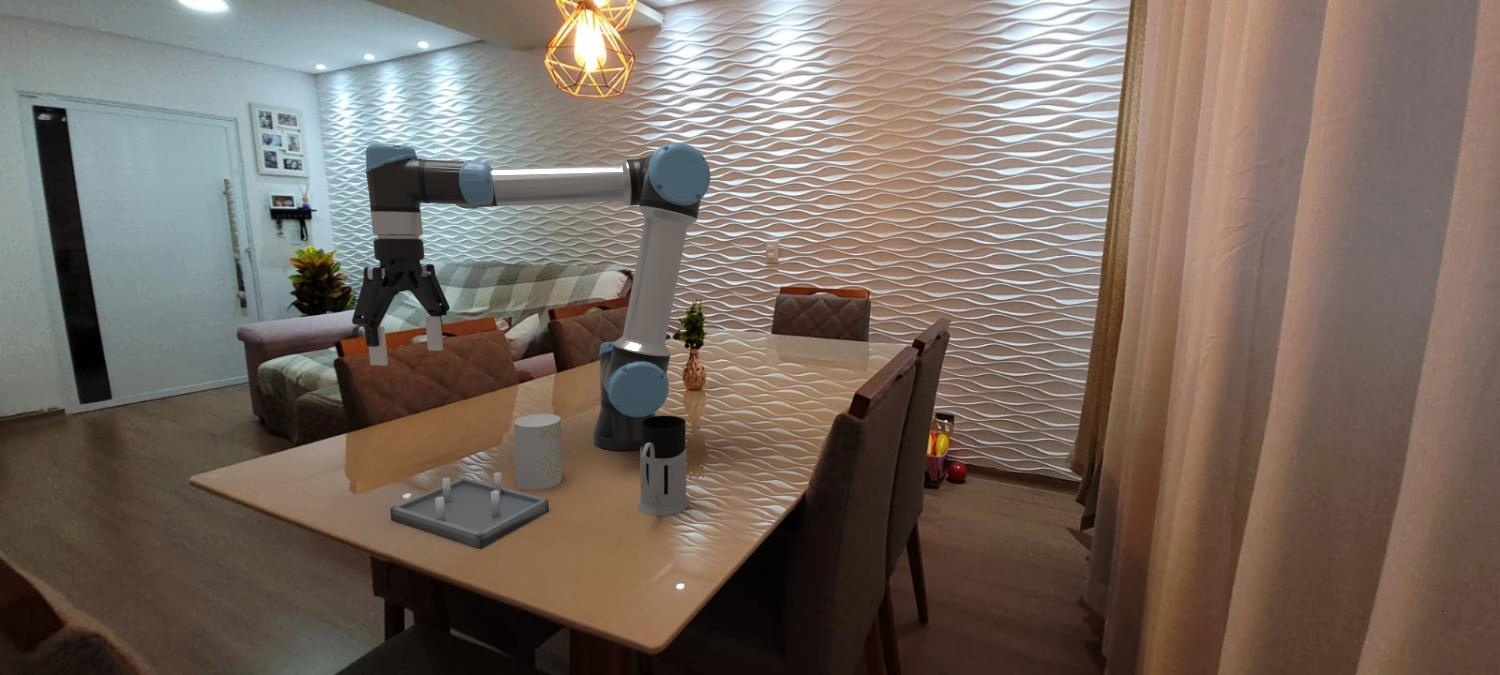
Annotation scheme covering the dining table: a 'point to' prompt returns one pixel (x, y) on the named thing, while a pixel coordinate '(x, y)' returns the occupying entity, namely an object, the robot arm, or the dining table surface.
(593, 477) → the dining table surface
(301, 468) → the dining table surface
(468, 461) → the dining table surface
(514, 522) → the tray
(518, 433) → the cup
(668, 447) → the glass holder
